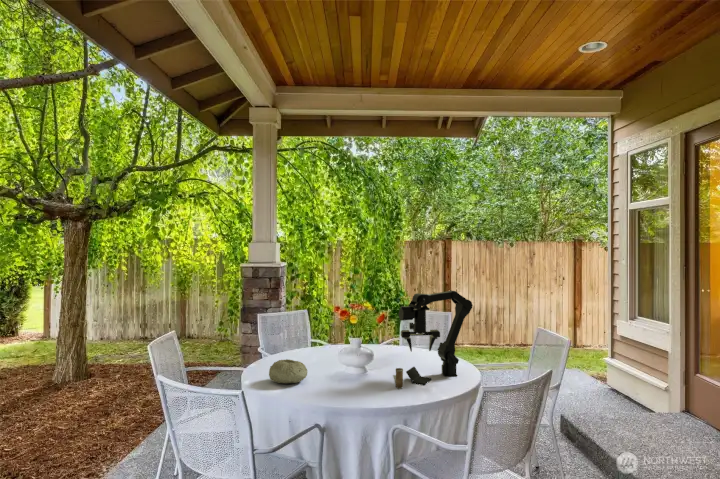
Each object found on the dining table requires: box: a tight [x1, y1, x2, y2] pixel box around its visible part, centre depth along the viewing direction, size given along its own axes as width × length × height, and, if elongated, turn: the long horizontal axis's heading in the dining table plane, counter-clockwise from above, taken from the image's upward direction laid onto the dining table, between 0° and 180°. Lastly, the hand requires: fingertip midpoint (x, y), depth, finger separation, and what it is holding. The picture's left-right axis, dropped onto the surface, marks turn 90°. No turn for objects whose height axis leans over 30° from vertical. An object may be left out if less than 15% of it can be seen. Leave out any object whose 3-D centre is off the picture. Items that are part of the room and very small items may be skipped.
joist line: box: [392, 374, 403, 390], centre depth 214 cm, size 2×22×1 cm, turn 1°
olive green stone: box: [268, 358, 309, 384], centre depth 213 cm, size 18×18×10 cm
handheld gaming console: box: [405, 366, 432, 386], centre depth 216 cm, size 12×7×10 cm
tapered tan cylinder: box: [395, 367, 404, 389], centre depth 206 cm, size 3×3×8 cm
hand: (420, 351), depth 222 cm, fingers open, 9 cm apart
